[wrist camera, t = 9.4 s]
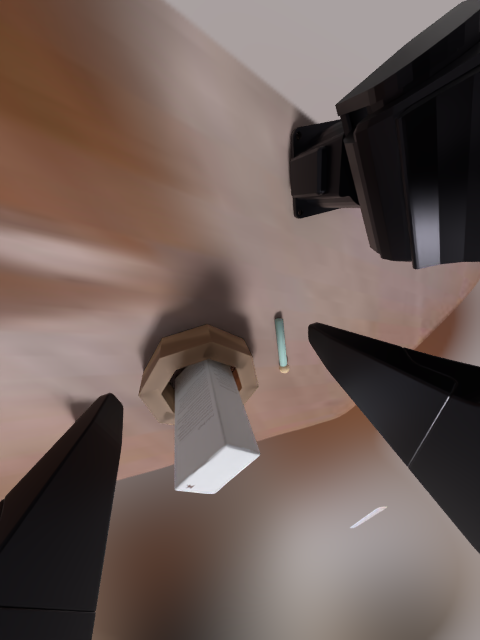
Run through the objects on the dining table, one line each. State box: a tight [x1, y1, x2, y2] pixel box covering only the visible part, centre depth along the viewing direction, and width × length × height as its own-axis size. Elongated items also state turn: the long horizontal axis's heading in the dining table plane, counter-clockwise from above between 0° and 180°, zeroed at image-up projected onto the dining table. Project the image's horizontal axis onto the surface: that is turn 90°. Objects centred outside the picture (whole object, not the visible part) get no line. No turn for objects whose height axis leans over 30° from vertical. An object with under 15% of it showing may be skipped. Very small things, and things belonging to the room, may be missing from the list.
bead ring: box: [138, 324, 259, 425], centre depth 24 cm, size 12×12×4 cm
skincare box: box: [175, 359, 260, 494], centre depth 20 cm, size 6×4×12 cm
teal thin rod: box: [275, 318, 289, 373], centre depth 27 cm, size 9×1×1 cm, turn 12°
